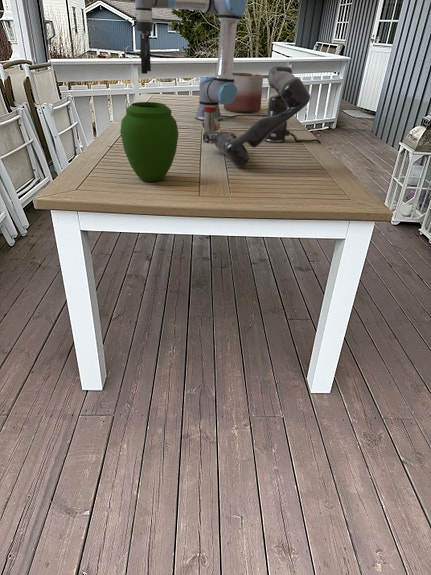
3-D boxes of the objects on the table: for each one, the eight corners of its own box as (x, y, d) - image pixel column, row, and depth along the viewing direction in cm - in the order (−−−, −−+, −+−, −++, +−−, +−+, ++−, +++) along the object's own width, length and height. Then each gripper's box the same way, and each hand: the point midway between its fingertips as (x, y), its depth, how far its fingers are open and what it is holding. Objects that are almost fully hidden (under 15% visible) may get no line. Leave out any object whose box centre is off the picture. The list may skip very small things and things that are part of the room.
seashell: (219, 131, 220) (219, 115, 216) (220, 133, 215) (221, 117, 211) (201, 130, 219) (202, 114, 214) (202, 133, 214) (203, 116, 210)
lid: (211, 112, 188) (211, 107, 187) (201, 111, 191) (201, 106, 190) (217, 111, 192) (218, 106, 191) (208, 109, 195) (208, 105, 194)
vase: (131, 189, 135) (125, 110, 122) (118, 172, 150) (112, 100, 137) (186, 184, 142) (187, 109, 129) (169, 168, 157) (167, 99, 144)
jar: (210, 143, 196) (211, 108, 188) (201, 141, 198) (202, 107, 190) (215, 141, 200) (217, 107, 191) (207, 140, 202) (208, 106, 193)
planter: (264, 113, 274) (268, 77, 262) (227, 113, 270) (229, 75, 258) (255, 107, 295) (258, 73, 283) (220, 106, 291) (222, 72, 279)
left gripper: (140, 21, 202) (142, 69, 214) (132, 20, 181) (134, 74, 193) (155, 22, 203) (156, 70, 214) (149, 21, 182) (150, 74, 193)
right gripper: (208, 152, 173) (200, 143, 186) (240, 151, 176) (229, 142, 189) (209, 133, 169) (200, 125, 182) (242, 133, 172) (230, 125, 185)
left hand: (146, 72), depth 203 cm, fingers open, 13 cm apart
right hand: (215, 134), depth 185 cm, fingers open, 8 cm apart
